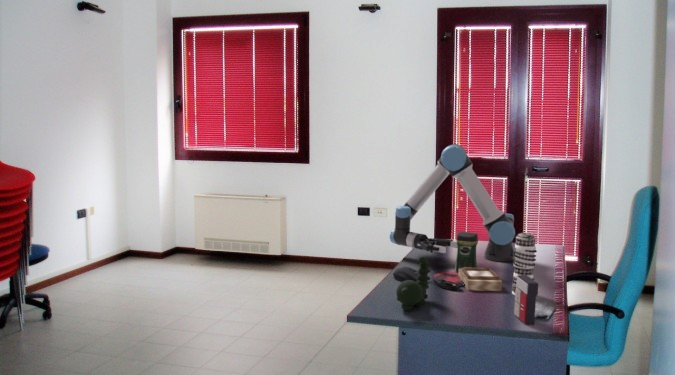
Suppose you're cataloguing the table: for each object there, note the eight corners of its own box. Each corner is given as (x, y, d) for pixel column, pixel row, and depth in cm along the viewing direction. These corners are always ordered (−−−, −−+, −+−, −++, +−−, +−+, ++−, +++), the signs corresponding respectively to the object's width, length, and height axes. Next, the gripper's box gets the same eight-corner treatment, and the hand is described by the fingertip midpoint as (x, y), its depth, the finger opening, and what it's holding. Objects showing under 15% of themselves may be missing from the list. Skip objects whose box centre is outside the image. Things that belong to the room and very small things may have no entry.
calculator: (512, 314, 234) (515, 274, 232) (524, 314, 234) (526, 274, 232) (524, 325, 223) (526, 283, 221) (536, 324, 224) (538, 283, 222)
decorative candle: (535, 292, 263) (539, 233, 260) (532, 298, 255) (536, 237, 251) (512, 289, 267) (516, 230, 264) (509, 295, 258) (512, 234, 255)
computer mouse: (398, 275, 287) (398, 263, 286) (465, 288, 268) (466, 275, 268) (387, 279, 279) (388, 267, 278) (455, 293, 261) (456, 280, 260)
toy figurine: (411, 300, 255) (388, 312, 232) (414, 253, 254) (391, 260, 231) (434, 304, 250) (413, 316, 228) (437, 256, 249) (416, 263, 227)
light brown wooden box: (489, 277, 284) (490, 266, 284) (501, 290, 264) (502, 278, 264) (458, 277, 284) (458, 265, 283) (467, 290, 264) (468, 278, 264)
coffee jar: (478, 271, 296) (480, 231, 293) (474, 275, 289) (476, 234, 286) (457, 268, 300) (459, 229, 297) (453, 272, 293) (455, 232, 290)
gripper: (432, 244, 321) (468, 252, 307) (401, 252, 304) (437, 260, 289) (433, 230, 320) (469, 236, 306) (401, 236, 303) (438, 244, 288)
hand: (454, 248), depth 297 cm, fingers open, 13 cm apart
